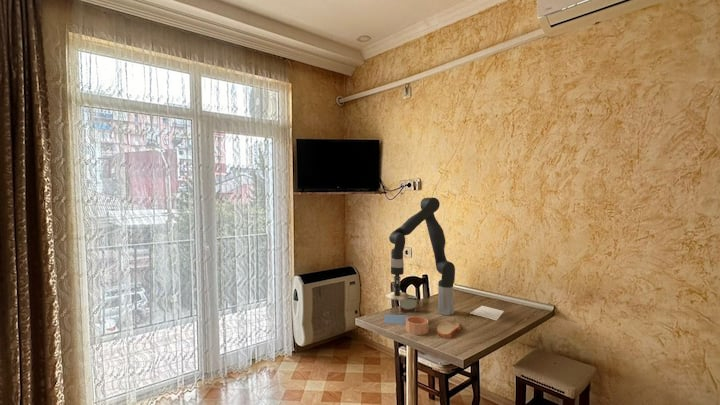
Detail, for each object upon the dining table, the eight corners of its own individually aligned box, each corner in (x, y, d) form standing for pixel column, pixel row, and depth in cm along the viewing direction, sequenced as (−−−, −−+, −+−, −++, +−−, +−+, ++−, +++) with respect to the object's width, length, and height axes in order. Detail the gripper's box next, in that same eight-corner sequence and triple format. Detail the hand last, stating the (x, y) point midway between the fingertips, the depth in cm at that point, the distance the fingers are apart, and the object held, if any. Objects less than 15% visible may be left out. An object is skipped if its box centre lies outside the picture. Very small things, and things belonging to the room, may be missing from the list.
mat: (409, 316, 202) (409, 315, 202) (410, 325, 187) (410, 324, 187) (384, 315, 204) (384, 314, 204) (383, 324, 189) (383, 323, 189)
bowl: (427, 327, 185) (427, 316, 185) (429, 336, 173) (429, 324, 173) (405, 326, 186) (405, 315, 186) (406, 334, 174) (406, 323, 174)
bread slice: (442, 340, 169) (442, 332, 169) (427, 326, 187) (427, 320, 187) (473, 337, 173) (473, 330, 173) (456, 324, 190) (456, 317, 190)
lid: (408, 293, 202) (408, 285, 202) (409, 300, 188) (409, 291, 188) (385, 292, 203) (385, 284, 203) (385, 299, 189) (385, 290, 189)
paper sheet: (483, 305, 224) (483, 304, 224) (528, 318, 203) (528, 316, 203) (466, 313, 208) (466, 312, 208) (513, 328, 187) (514, 326, 187)
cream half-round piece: (416, 309, 214) (417, 294, 214) (417, 313, 208) (417, 297, 208) (398, 309, 215) (398, 294, 215) (398, 312, 209) (398, 296, 209)
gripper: (403, 268, 188) (403, 298, 188) (403, 263, 202) (403, 291, 202) (390, 268, 189) (390, 297, 189) (391, 263, 203) (391, 291, 203)
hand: (397, 294), depth 195 cm, fingers closed on lid, 3 cm apart
